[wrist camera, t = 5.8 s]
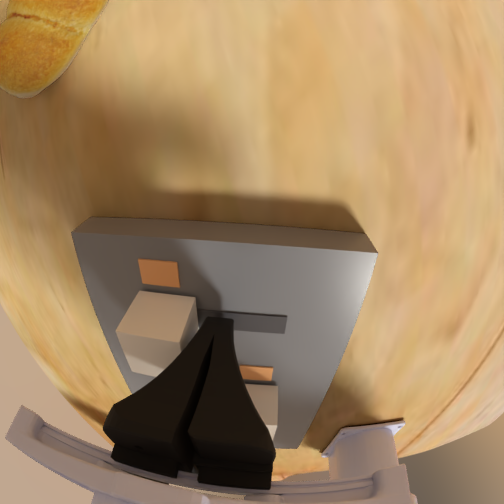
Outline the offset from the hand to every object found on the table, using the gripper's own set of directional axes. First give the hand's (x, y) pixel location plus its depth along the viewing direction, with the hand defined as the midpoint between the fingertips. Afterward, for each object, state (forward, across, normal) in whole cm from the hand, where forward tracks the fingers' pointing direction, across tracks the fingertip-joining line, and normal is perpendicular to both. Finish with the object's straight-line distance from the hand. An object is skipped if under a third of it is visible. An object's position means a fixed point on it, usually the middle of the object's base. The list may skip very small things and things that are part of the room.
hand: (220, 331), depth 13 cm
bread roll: (+3, +11, -17) cm, 20 cm away
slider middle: (+1, -2, +7) cm, 7 cm away
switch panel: (+3, +1, +7) cm, 8 cm away
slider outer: (+1, +3, 0) cm, 3 cm away
